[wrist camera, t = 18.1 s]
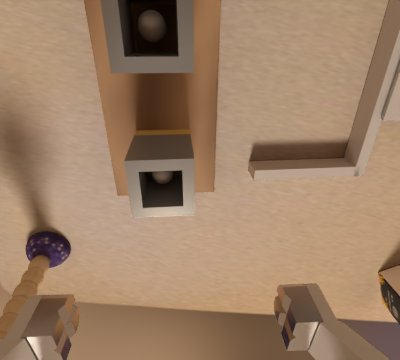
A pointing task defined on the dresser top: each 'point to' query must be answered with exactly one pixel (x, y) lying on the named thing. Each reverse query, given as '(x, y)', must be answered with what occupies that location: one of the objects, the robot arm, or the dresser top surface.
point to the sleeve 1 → (127, 41)
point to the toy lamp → (34, 272)
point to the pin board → (161, 88)
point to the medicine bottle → (391, 290)
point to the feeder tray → (365, 118)
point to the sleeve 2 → (161, 161)
